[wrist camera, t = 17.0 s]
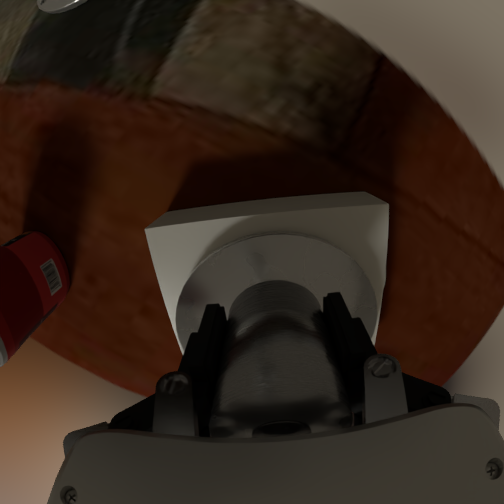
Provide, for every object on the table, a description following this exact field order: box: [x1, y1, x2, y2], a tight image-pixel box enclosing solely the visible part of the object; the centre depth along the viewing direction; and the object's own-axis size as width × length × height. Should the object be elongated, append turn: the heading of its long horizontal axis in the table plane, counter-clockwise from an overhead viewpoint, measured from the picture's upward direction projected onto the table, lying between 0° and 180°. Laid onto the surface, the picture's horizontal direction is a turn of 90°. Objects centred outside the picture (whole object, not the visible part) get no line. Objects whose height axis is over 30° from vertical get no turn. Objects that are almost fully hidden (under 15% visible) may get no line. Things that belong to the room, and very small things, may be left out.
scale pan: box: [175, 231, 377, 351], centre depth 16 cm, size 12×12×1 cm
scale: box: [145, 191, 389, 354], centre depth 18 cm, size 14×14×4 cm
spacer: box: [209, 280, 353, 438], centre depth 9 cm, size 4×4×6 cm
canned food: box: [0, 231, 70, 367], centre depth 16 cm, size 8×8×11 cm
